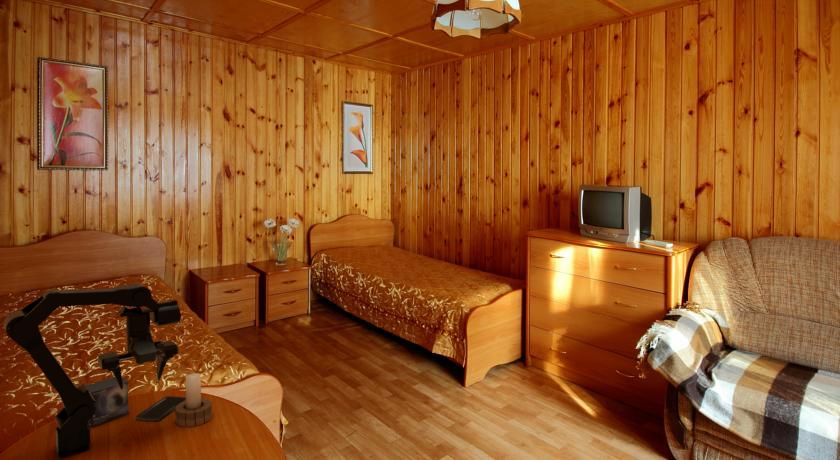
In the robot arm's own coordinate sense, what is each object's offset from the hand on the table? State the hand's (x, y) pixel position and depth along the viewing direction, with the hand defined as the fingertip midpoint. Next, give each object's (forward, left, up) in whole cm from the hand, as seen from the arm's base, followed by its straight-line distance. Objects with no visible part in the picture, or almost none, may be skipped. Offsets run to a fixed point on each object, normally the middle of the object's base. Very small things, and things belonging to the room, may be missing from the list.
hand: (140, 384), depth 135 cm
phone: (+8, +9, -14) cm, 18 cm away
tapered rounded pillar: (+13, -3, -13) cm, 19 cm away
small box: (-6, +14, -13) cm, 20 cm away
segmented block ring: (+13, -3, -13) cm, 19 cm away
